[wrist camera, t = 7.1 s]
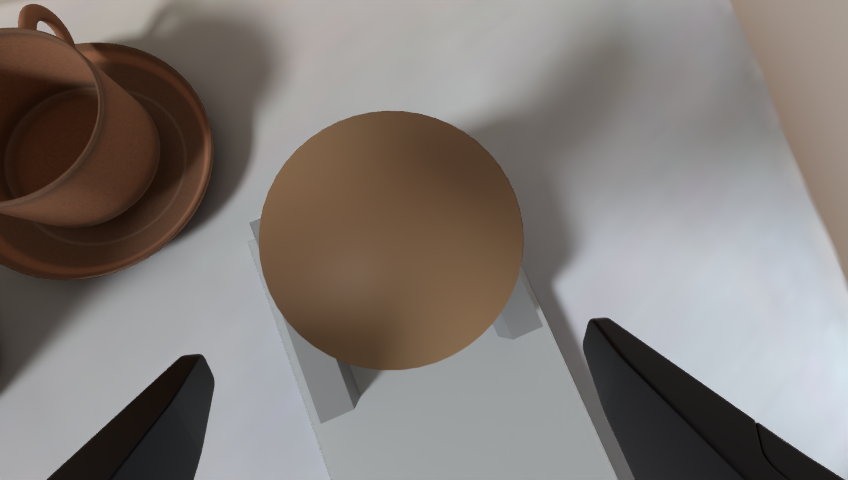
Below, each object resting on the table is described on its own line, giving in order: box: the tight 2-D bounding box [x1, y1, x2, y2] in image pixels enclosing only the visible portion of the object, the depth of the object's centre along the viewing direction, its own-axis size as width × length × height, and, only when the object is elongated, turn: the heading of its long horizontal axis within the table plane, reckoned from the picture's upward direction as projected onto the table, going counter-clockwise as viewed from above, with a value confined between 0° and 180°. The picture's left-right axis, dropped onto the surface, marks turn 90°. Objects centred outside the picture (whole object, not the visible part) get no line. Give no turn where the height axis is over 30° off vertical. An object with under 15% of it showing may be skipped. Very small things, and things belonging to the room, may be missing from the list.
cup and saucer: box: [0, 4, 214, 280], centre depth 19 cm, size 12×12×6 cm
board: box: [248, 219, 618, 480], centre depth 19 cm, size 20×12×4 cm, turn 22°
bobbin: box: [259, 111, 524, 370], centre depth 14 cm, size 5×5×13 cm
